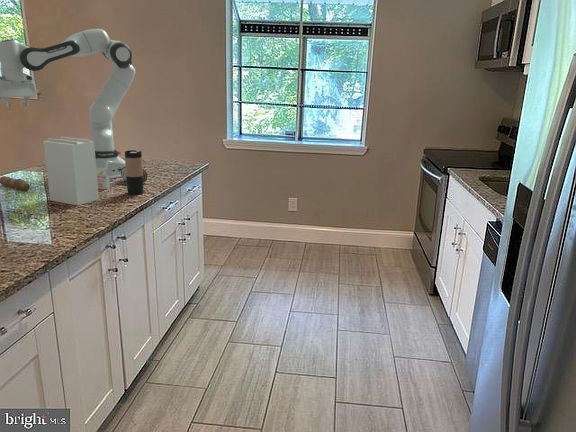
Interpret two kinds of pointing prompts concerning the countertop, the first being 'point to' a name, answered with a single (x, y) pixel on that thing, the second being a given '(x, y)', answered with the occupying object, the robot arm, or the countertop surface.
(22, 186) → the wooden turned rod
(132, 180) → the travel mug
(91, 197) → the gray stand
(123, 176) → the tin
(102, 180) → the small grey carton
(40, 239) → the countertop surface
